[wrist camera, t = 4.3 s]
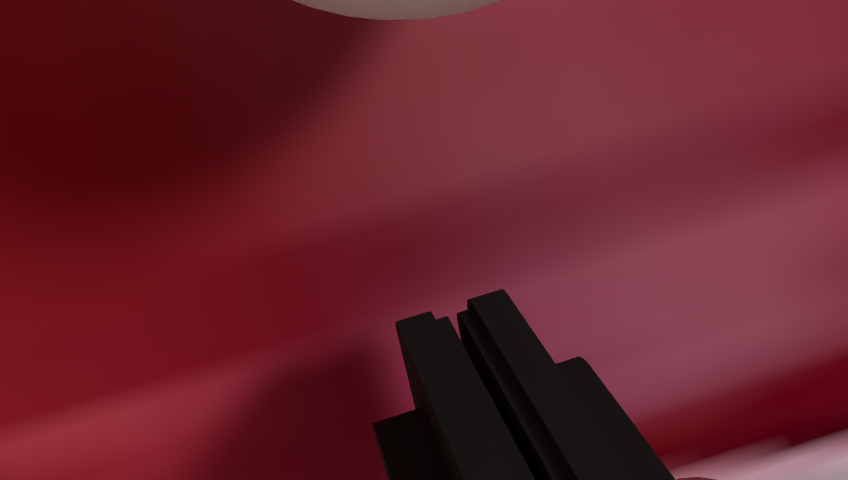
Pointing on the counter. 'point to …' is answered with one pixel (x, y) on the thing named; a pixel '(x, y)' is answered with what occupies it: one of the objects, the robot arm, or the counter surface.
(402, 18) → the cue ball
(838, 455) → the counter surface
